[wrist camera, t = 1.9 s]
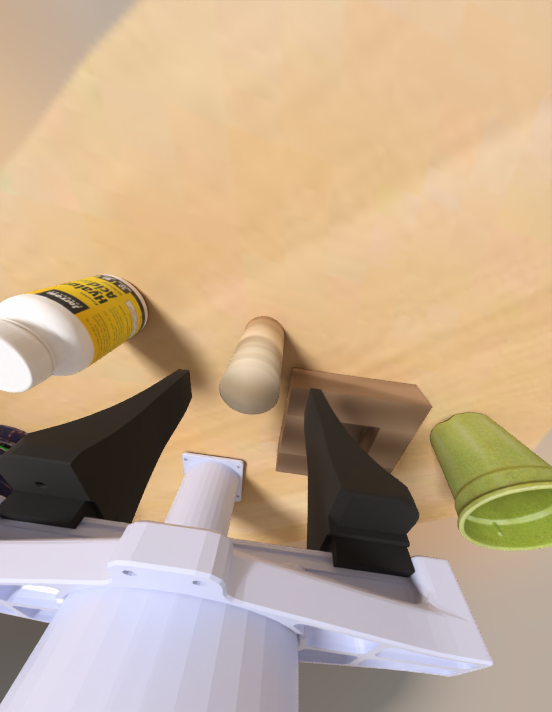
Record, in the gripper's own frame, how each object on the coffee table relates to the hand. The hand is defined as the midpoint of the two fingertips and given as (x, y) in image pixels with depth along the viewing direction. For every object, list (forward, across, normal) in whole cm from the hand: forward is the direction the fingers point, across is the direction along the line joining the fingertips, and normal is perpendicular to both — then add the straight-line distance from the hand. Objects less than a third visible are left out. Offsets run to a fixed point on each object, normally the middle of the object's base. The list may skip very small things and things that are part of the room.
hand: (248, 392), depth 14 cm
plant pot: (+8, -22, +8) cm, 25 cm away
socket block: (+8, -9, +9) cm, 15 cm away
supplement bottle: (+8, +13, -1) cm, 15 cm away
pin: (+8, 0, 0) cm, 8 cm away
